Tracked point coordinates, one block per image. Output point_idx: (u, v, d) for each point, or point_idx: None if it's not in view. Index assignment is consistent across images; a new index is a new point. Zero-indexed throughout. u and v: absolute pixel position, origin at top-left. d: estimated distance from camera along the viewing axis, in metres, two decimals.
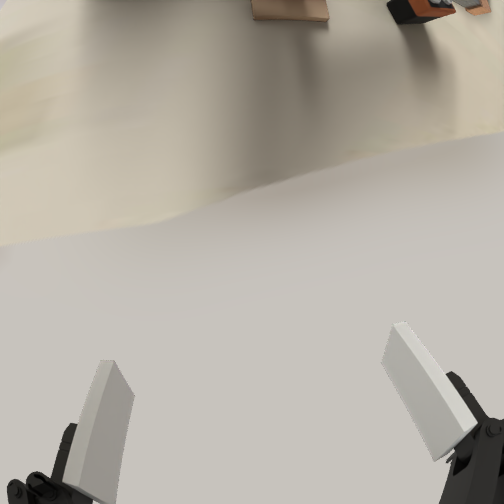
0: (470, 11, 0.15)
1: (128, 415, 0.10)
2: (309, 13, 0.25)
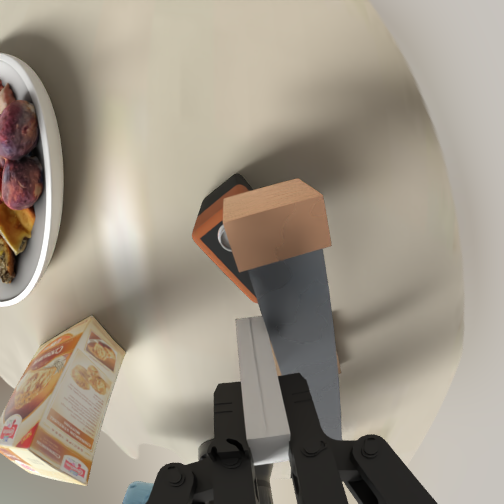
0: None
1: None
2: None
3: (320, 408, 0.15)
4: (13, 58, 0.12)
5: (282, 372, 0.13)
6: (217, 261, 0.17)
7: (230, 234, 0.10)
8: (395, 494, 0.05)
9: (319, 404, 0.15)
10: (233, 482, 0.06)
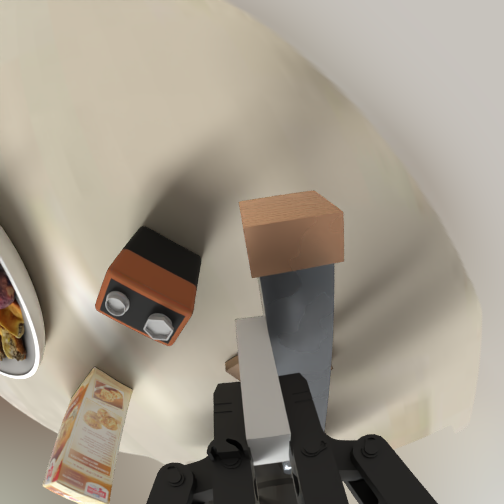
0: None
1: None
2: None
3: None
4: None
5: None
6: (120, 322, 0.18)
7: (249, 240, 0.10)
8: (395, 494, 0.05)
9: None
10: (233, 482, 0.06)
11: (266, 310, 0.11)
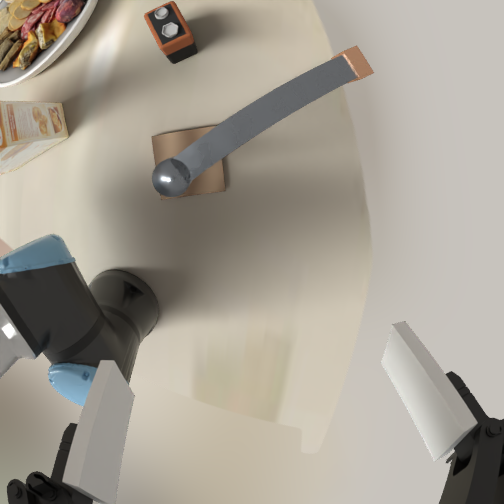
0: None
1: (128, 415, 0.10)
2: None
3: (264, 114, 0.25)
4: None
5: (295, 78, 0.23)
6: (150, 24, 0.23)
7: (354, 47, 0.22)
8: None
9: (268, 111, 0.25)
10: None
11: (331, 60, 0.23)
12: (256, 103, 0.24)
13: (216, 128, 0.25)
